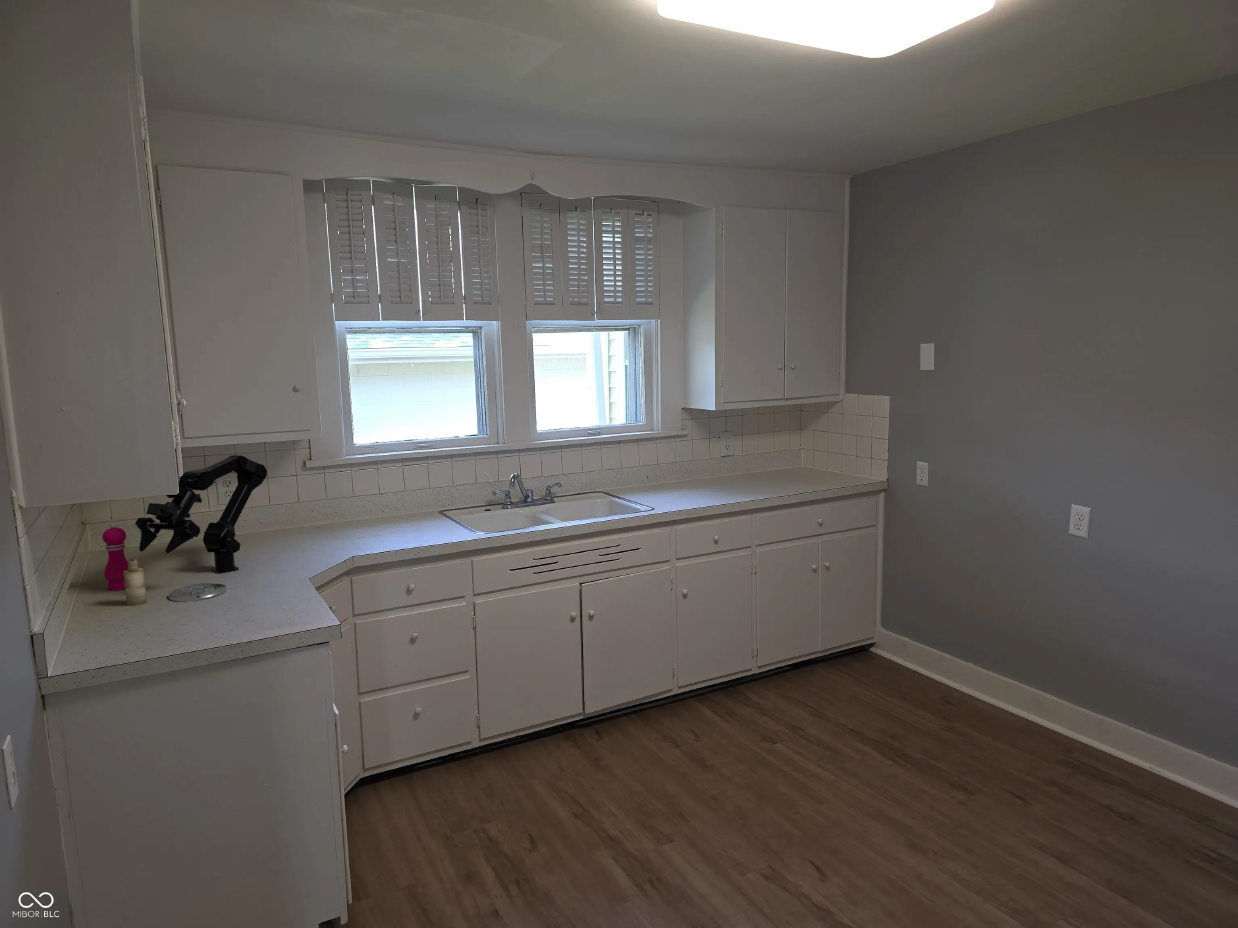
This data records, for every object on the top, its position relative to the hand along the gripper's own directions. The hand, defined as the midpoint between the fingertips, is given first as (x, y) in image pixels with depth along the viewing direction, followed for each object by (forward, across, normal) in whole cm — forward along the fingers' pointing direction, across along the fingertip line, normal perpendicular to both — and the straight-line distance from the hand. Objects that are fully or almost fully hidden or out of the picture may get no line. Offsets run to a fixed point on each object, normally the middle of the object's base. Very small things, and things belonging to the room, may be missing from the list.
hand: (153, 551), depth 227 cm
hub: (+6, +10, +12) cm, 17 cm away
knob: (+14, 0, +4) cm, 15 cm away
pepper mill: (+7, -18, +12) cm, 23 cm away
